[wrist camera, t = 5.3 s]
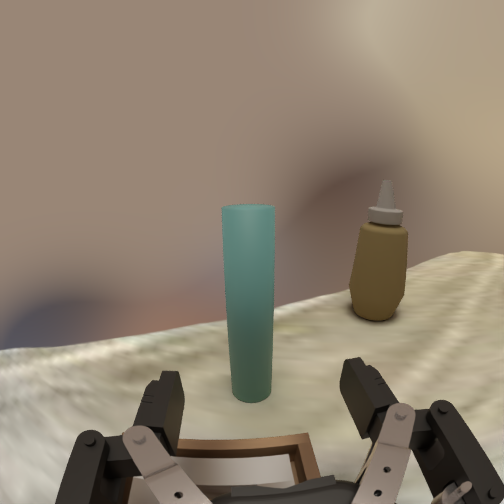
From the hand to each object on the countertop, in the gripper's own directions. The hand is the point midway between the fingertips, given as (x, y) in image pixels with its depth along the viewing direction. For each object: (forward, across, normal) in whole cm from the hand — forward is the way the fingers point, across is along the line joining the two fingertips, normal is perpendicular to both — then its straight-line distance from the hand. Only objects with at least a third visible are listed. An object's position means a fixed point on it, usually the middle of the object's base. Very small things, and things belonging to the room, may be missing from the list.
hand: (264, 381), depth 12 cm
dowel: (+8, 0, -9) cm, 12 cm away
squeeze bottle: (+21, +18, -9) cm, 29 cm away
